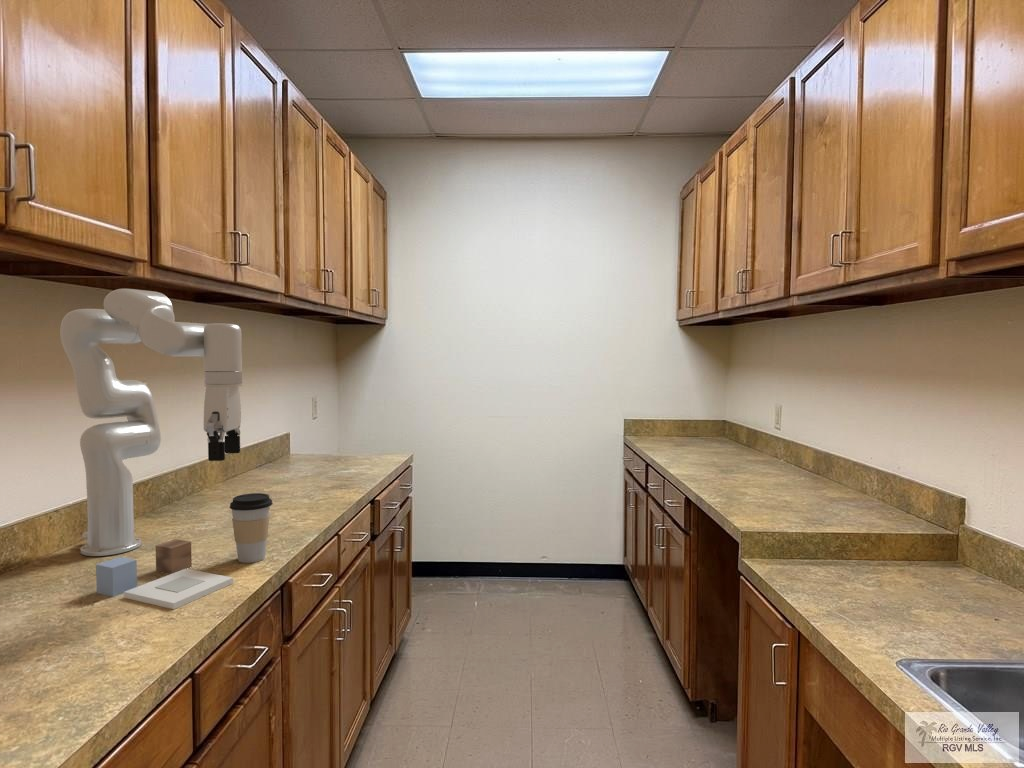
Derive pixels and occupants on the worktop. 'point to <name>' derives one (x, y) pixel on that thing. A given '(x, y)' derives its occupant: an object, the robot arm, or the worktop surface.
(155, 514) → the worktop surface
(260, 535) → the coffee cup
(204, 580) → the plate
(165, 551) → the block walnut
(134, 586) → the block blue
